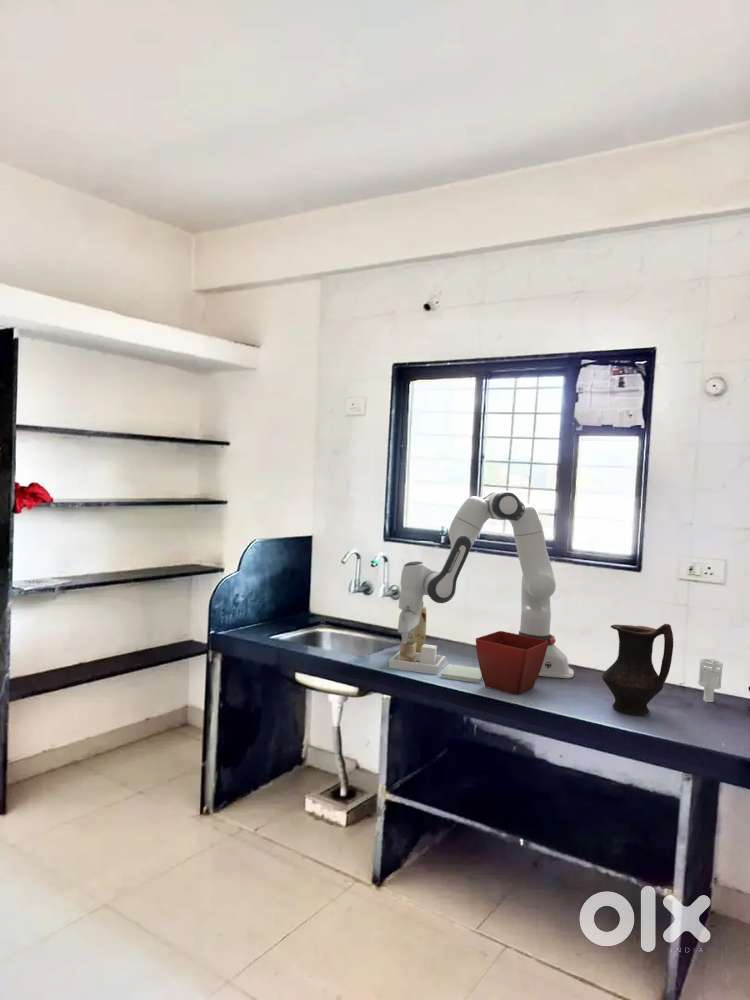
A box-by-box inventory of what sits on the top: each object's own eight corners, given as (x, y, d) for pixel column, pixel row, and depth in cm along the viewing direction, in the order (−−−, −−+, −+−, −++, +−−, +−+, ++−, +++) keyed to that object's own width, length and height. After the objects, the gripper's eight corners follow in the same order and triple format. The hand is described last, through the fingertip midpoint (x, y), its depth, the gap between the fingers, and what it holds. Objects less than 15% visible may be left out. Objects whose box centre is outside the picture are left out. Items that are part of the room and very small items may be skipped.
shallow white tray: (445, 664, 263) (445, 656, 263) (436, 674, 248) (437, 666, 248) (399, 657, 268) (400, 650, 268) (388, 667, 253) (389, 659, 253)
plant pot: (522, 700, 224) (526, 649, 224) (471, 686, 236) (474, 638, 235) (546, 688, 240) (549, 640, 239) (496, 676, 251) (500, 630, 251)
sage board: (485, 673, 254) (485, 669, 254) (480, 683, 241) (480, 679, 240) (447, 668, 258) (448, 664, 258) (440, 677, 244) (441, 673, 244)
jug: (588, 708, 221) (595, 615, 220) (615, 697, 234) (622, 610, 233) (653, 728, 206) (661, 628, 205) (678, 715, 219) (685, 622, 218)
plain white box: (435, 666, 259) (437, 645, 258) (433, 670, 254) (434, 648, 254) (422, 665, 260) (424, 644, 260) (419, 668, 255) (421, 646, 255)
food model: (398, 652, 276) (401, 603, 275) (404, 649, 282) (407, 601, 282) (421, 656, 272) (424, 606, 271) (427, 653, 278) (430, 604, 278)
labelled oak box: (415, 663, 261) (416, 642, 261) (412, 667, 256) (413, 645, 256) (402, 662, 262) (403, 640, 262) (399, 665, 258) (400, 643, 257)
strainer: (700, 703, 233) (704, 659, 233) (694, 697, 240) (697, 654, 240) (722, 705, 232) (726, 661, 232) (715, 699, 239) (718, 656, 239)
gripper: (412, 609, 248) (409, 647, 248) (424, 601, 267) (421, 636, 268) (395, 607, 250) (392, 645, 250) (408, 599, 269) (405, 634, 270)
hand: (407, 640), depth 259 cm, fingers open, 8 cm apart
